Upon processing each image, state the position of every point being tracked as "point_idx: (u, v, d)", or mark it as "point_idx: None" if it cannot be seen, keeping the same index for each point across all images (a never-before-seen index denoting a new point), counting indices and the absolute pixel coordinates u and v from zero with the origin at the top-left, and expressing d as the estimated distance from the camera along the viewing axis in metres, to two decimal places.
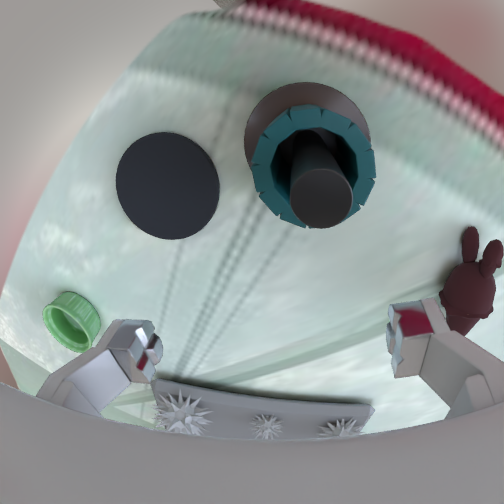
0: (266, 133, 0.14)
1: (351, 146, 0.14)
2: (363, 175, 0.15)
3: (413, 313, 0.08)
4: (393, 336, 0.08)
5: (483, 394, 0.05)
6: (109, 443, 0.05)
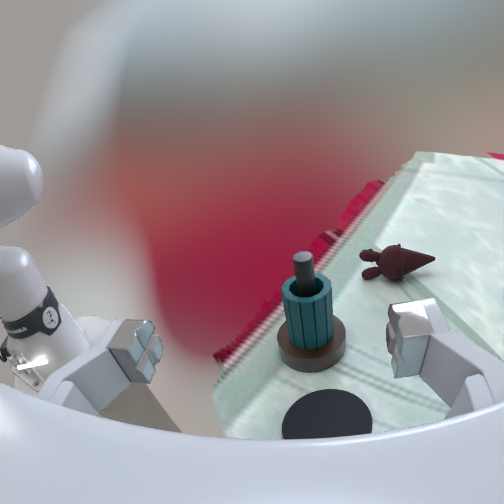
0: (288, 298, 0.38)
1: None
2: None
3: (413, 313, 0.08)
4: (393, 336, 0.08)
5: (483, 394, 0.05)
6: (109, 443, 0.05)
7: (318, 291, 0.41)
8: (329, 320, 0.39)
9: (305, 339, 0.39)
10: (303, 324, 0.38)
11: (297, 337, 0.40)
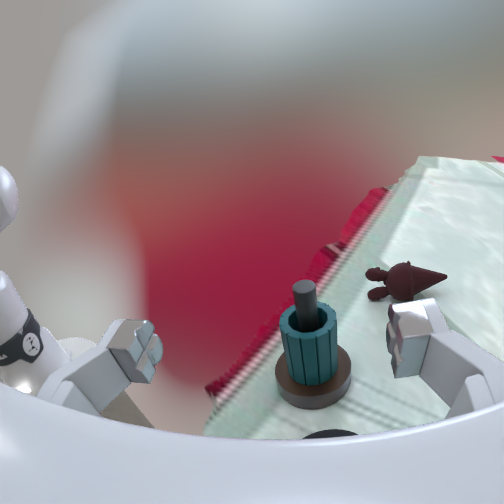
0: (286, 333, 0.32)
1: None
2: None
3: (413, 313, 0.08)
4: (393, 336, 0.08)
5: (483, 394, 0.05)
6: (109, 443, 0.05)
7: (321, 322, 0.36)
8: (333, 355, 0.34)
9: (306, 376, 0.34)
10: (304, 361, 0.33)
11: (297, 373, 0.34)
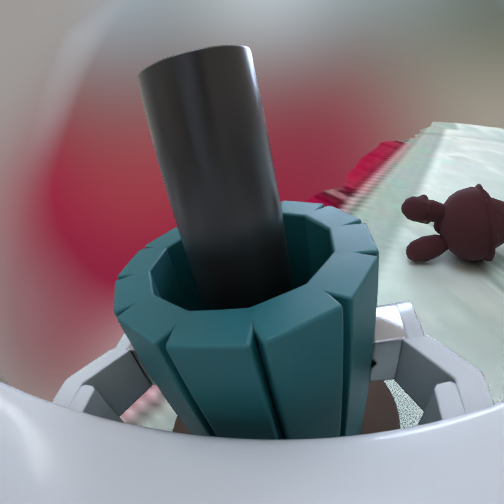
0: (120, 307, 0.06)
1: None
2: None
3: (387, 317, 0.08)
4: None
5: (453, 403, 0.05)
6: (109, 443, 0.05)
7: (308, 281, 0.10)
8: (355, 411, 0.07)
9: None
10: None
11: None
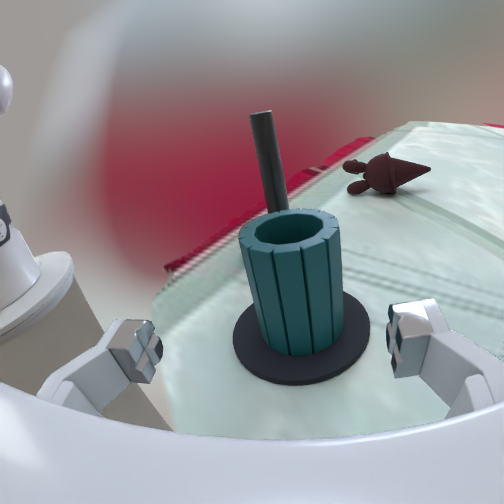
0: (248, 246, 0.18)
1: (274, 216, 0.22)
2: (296, 211, 0.22)
3: (413, 313, 0.08)
4: (393, 336, 0.08)
5: (483, 394, 0.05)
6: (109, 443, 0.05)
7: None
8: (336, 297, 0.20)
9: (289, 336, 0.20)
10: (283, 304, 0.19)
11: (274, 332, 0.21)
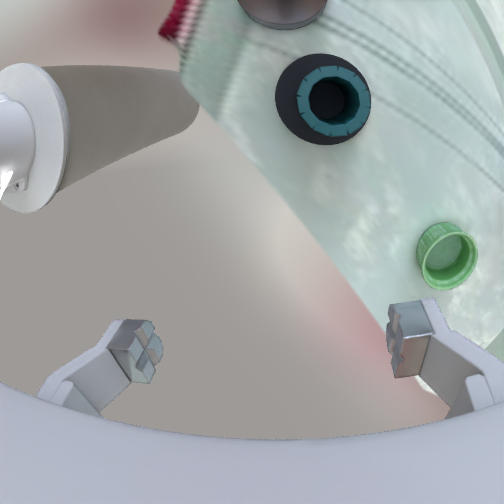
0: (312, 126, 0.25)
1: (318, 79, 0.22)
2: (335, 73, 0.22)
3: (413, 313, 0.08)
4: (393, 336, 0.08)
5: (483, 394, 0.05)
6: (109, 442, 0.05)
7: (344, 82, 0.24)
8: None
9: None
10: None
11: None
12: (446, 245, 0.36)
